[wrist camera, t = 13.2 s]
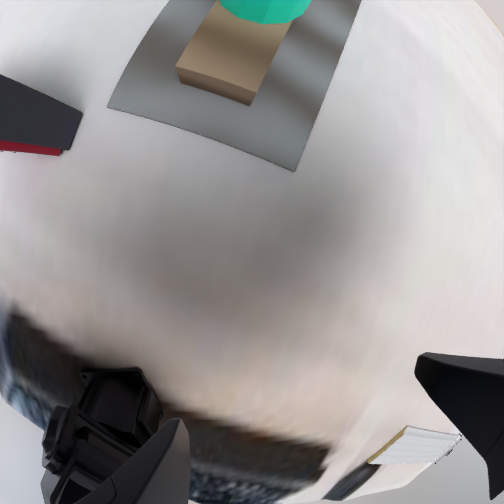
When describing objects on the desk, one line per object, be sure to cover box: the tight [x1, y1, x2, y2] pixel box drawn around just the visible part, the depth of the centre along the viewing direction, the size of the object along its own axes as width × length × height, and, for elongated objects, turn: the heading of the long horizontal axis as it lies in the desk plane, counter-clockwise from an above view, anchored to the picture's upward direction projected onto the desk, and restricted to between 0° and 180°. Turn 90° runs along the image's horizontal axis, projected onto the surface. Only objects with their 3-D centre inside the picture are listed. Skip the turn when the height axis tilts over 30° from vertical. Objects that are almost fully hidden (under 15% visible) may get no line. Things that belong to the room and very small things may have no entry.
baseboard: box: [367, 426, 462, 464], centre depth 32 cm, size 30×3×10 cm
